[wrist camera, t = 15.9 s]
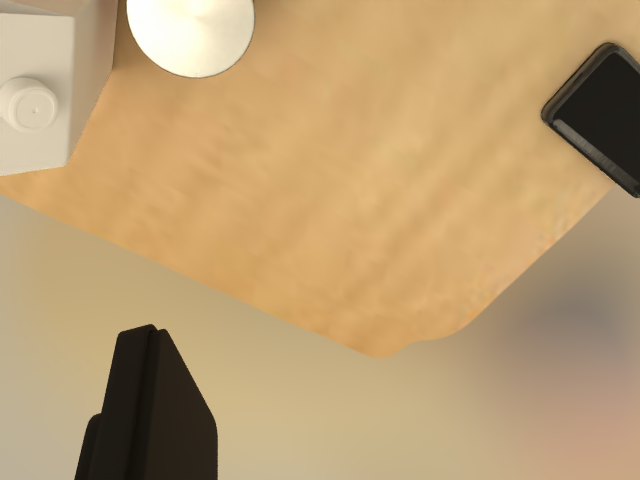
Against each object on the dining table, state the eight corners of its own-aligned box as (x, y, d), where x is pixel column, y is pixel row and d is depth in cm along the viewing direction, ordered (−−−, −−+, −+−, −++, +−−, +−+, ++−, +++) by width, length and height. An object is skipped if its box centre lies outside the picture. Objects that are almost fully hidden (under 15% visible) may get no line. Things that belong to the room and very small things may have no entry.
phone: (639, 202, 52) (542, 120, 46) (632, 196, 53) (536, 115, 47) (710, 136, 49) (617, 39, 43) (701, 131, 50) (609, 35, 44)
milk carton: (1, 47, 37) (-149, 178, 22) (-1, -69, 34) (-181, -12, 18) (112, 71, 39) (48, 207, 24) (122, -35, 36) (54, 42, 20)
